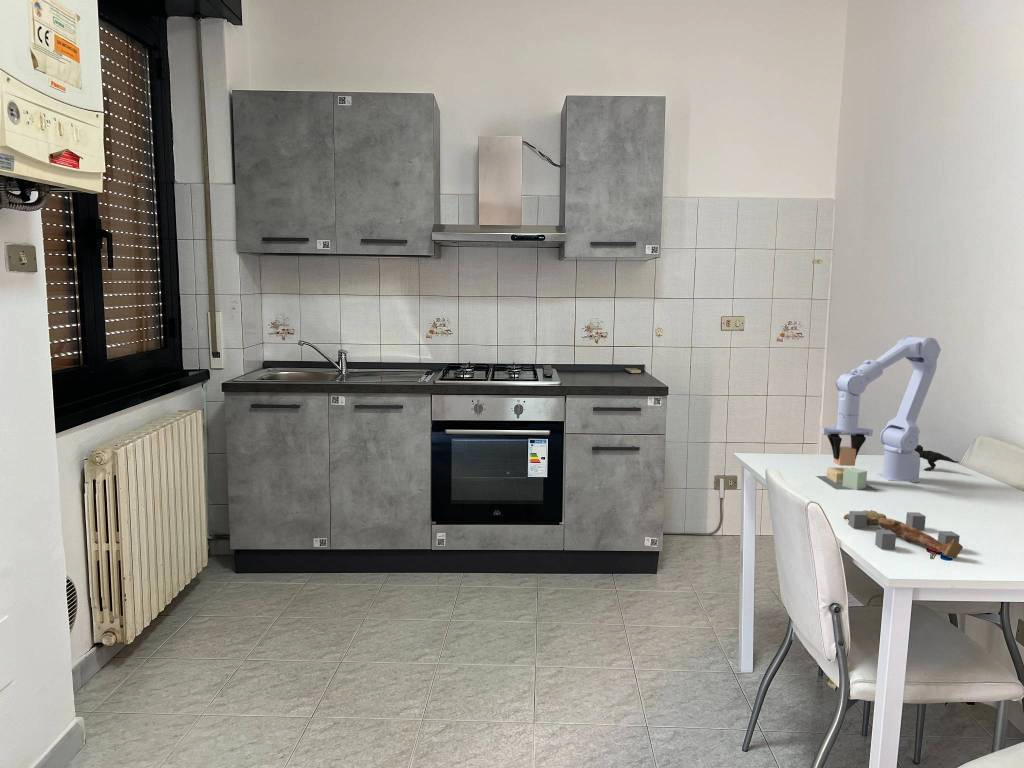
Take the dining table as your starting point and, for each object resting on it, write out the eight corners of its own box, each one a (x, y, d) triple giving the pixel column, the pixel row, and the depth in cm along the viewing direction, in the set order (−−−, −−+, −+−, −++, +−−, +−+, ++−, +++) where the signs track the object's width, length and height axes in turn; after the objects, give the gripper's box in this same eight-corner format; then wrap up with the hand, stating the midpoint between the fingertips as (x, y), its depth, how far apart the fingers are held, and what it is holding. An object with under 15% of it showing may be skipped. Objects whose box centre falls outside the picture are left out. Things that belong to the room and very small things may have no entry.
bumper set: (917, 526, 181) (919, 512, 181) (958, 550, 164) (959, 535, 164) (848, 524, 181) (849, 510, 181) (881, 549, 165) (882, 533, 164)
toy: (912, 465, 246) (914, 441, 245) (961, 474, 234) (963, 449, 233) (905, 467, 243) (907, 443, 242) (955, 476, 231) (957, 451, 230)
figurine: (951, 536, 158) (847, 491, 186) (936, 560, 158) (833, 511, 186) (970, 552, 161) (864, 505, 189) (955, 575, 161) (851, 526, 188)
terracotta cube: (848, 462, 224) (849, 446, 224) (854, 465, 220) (856, 449, 219) (833, 461, 225) (834, 445, 224) (839, 465, 220) (840, 449, 219)
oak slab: (849, 477, 226) (850, 467, 226) (859, 483, 219) (860, 473, 219) (826, 476, 226) (827, 467, 226) (836, 482, 219) (836, 473, 219)
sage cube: (865, 487, 215) (867, 471, 214) (856, 489, 212) (857, 472, 212) (851, 484, 218) (852, 467, 218) (842, 486, 216) (843, 469, 215)
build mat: (854, 478, 227) (854, 476, 227) (877, 491, 212) (877, 490, 212) (815, 477, 227) (815, 475, 227) (835, 490, 213) (835, 489, 212)
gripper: (866, 412, 224) (862, 456, 226) (818, 411, 224) (815, 455, 226) (877, 416, 217) (873, 461, 219) (827, 415, 217) (824, 460, 219)
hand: (844, 458), depth 222 cm, fingers closed on terracotta cube, 4 cm apart
